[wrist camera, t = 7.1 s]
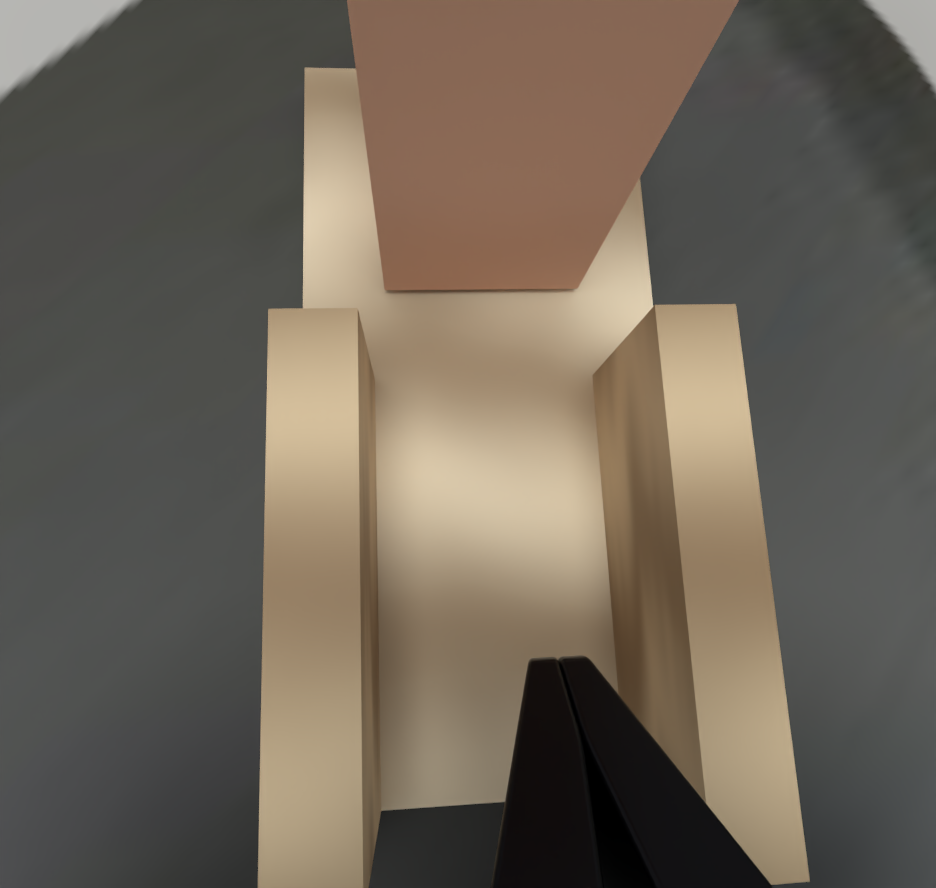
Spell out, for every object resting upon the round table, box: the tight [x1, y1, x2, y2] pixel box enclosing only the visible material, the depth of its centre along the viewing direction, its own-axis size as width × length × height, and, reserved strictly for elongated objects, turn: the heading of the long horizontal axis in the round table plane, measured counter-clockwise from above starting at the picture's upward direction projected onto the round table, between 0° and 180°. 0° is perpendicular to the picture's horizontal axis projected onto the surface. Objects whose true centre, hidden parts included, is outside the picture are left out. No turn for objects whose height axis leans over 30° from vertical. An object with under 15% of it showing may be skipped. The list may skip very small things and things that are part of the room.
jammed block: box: [347, 0, 739, 290], centre depth 12 cm, size 6×5×10 cm
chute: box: [258, 68, 810, 888], centre depth 15 cm, size 19×9×6 cm, turn 2°
